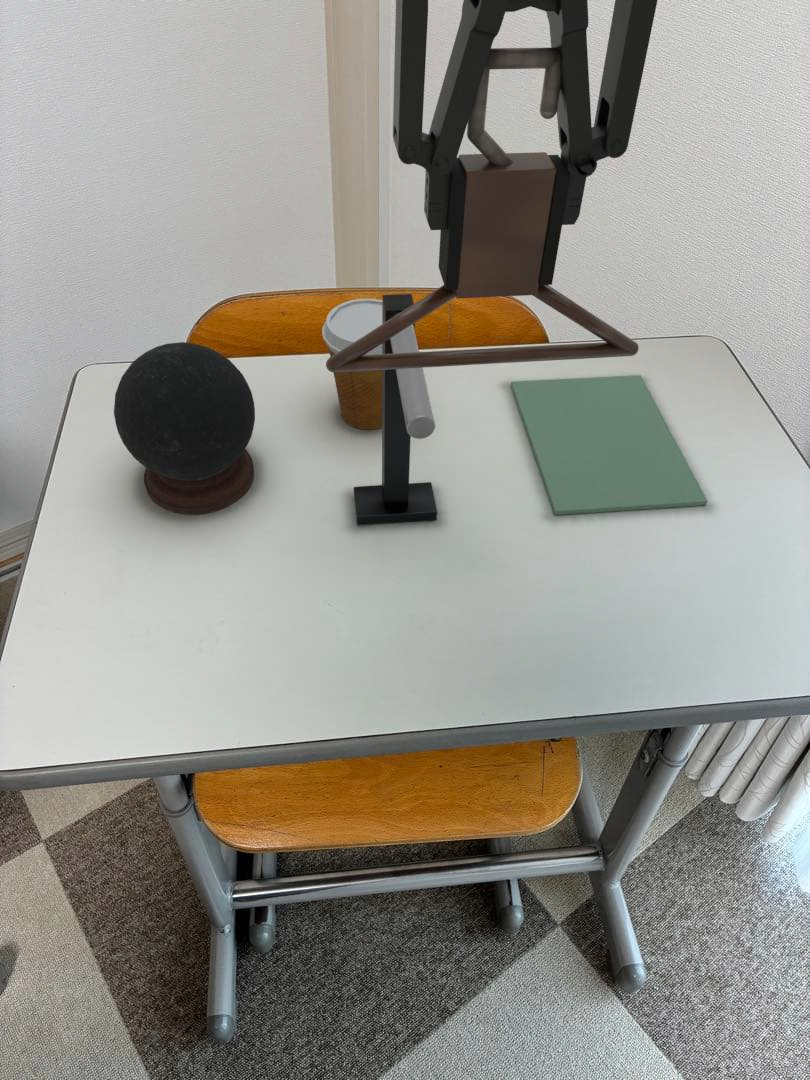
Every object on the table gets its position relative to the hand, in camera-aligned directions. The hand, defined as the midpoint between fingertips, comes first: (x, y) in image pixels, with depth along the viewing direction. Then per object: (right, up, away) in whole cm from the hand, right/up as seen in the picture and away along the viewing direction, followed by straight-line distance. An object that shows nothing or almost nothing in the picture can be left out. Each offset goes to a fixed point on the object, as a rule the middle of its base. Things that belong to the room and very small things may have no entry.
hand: (494, 275), depth 48 cm
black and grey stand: (-6, -17, +28) cm, 34 cm away
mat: (+16, -5, +40) cm, 44 cm away
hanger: (0, -4, +5) cm, 6 cm away
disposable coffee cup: (-10, -2, +43) cm, 44 cm away
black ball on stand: (-27, -10, +35) cm, 45 cm away
